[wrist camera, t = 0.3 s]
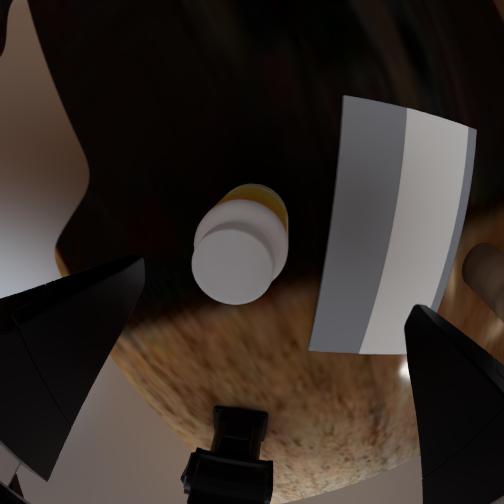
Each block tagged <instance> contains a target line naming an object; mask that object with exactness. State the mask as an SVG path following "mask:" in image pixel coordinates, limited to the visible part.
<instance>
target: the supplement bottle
mask: <svg viewBox="0 0 504 504" xmlns="http://www.w3.org/2000/svg"><path fill="white" fill-rule="evenodd" d="M194 250H195V251H194V253H193V257H192V271H193V274H194V277H195V280H196V282H197V283H198V285H199V286H200V288H201V289H202V290H203V291H204V292H205V293H206V294H207V295H209V296H210V297H211V298H213V299H215V300H217V301H219V302H222V303H226V304H233V305H239V304H245V303H249V302H251V301H254V300H256V299H257V298H259V297H260V296H261V295H262V294H263V293H264V292H265V291H266V290H267V289H268V287H269V285H270V283H271V282H272V281H273V280H274V279H275V278H276V277H277V276H278V275H279V273H280V272H281V270H282V269H283V267H284V264H285V262H286V258H287V253H288V214H287V209H286V207H285V204H284V202H283V201H282V199H281V198H280V197H279V195H278V194H277V193H276V192H274V191H273V190H271V189H270V188H268V187H266V186H263V185H259V184H245V185H241V186H239V187H237V188H235V189H233V190H231V191H230V192H229V193H228V194H227V195H226V196H225V197H224V198H223V199H222V200H221V201H219V202H218V203H217V204H216V205H215V206H214V207H213V208H212V209H211V210H210V211H209V212H208V213H207V214H206V215H205V217H204V218H203V219H202V221H201V222H200V224H199V226H198V228H197V231H196V234H195V240H194Z"/></svg>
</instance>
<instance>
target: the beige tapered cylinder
mask: <svg viewBox="0 0 504 504" xmlns="http://www.w3.org/2000/svg"><path fill="white" fill-rule="evenodd" d="M462 275H463V279H464V281H465V282H466V283H467V284H468V285H469V286H470V287H471V288H472V289H473V290H474V291H475V292H476V293H477V294H478V295H479V297H480V298H481V299H482V300H483V301H484V302H485V303H486V304H487V305H488V306H489V307H490V308H491V309H492V310H493V311H494V313H495V314H496V315H497V316H498V317H499V318H500V319H501V320H502V321H503V323H504V254H503V253H501V252H500V251H498V250H497V249H495V248H494V247H492V246H491V245H489V244H487V243H481V244H478V245H476V246H475V247H473V248H472V249H471V250H470V252H469V253H468V255H467V256H466V258H465V261H464V263H463V268H462Z"/></svg>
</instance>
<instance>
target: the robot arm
mask: <svg viewBox="0 0 504 504" xmlns="http://www.w3.org/2000/svg"><path fill="white" fill-rule="evenodd" d="M144 283H145V271H144V260H143V258H142V257H141V256H136V255H129V256H126V257H122V258H119V259H116V260H113V261H110V262H107V263H104V264H101V265H98V266H95V267H92V268H89V269H86V270H83V271H81V272H78V273H75V274H72V275H69V276H66V277H63V278H60V279H57V280H55V281H52V282H49V283H46V285H45V284H43V285H41V286H38V287H35V288H32V289H29V290H26V291H23V292H20V293H17V294H14V295H10V296H7V297H4V298H1V299H0V504H31V503H29V502H27V501H26V500H25V499H24V497H23V494H22V491H21V488H20V485H19V481H18V478H17V474H15V473H16V472H17V470H18V468H19V466H20V464H21V465H22V466H24V467H25V468H27V469H28V470H30V471H31V472H33V473H34V474H36V475H37V476H39V477H40V478H42V479H43V480H45V481H48V480H49V478H50V475H51V473H52V471H53V468H54V466H55V464H56V461H57V459H58V457H59V454H60V452H61V450H62V448H63V445H64V443H65V441H66V439H67V437H68V435H69V432H70V430H71V426H73V423H74V421H75V419H76V417H77V415H78V413H79V411H80V409H81V407H82V405H83V403H84V401H85V399H86V397H87V395H88V393H89V391H90V389H91V387H92V385H93V383H94V382H95V379H96V378H97V376H98V374H99V372H100V370H101V368H102V367H103V365H104V363H105V361H106V359H107V357H108V356H109V354H110V352H111V350H112V348H113V346H114V345H115V343H116V341H117V339H118V338H119V336H120V334H121V332H122V331H123V329H124V327H125V325H126V324H127V322H128V320H129V318H130V315H131V313H132V311H133V309H134V306H135V304H136V302H137V300H138V297H139V295H140V293H141V291H142V289H143V286H144ZM404 335H405V343H406V352H407V362H408V369H409V375H410V380H411V386H412V392H413V398H414V404H415V411H416V418H417V425H418V434H419V443H420V453H421V466H422V478H423V479H422V486H423V504H504V365H503V364H502V363H500V362H499V361H498V360H497V359H495V358H494V357H493V356H492V355H491V354H489V353H488V352H487V351H486V350H484V349H483V348H482V347H480V346H479V345H478V344H477V343H475V342H474V341H473V340H472V339H470V338H469V337H468V336H466V335H465V334H464V333H463V332H461V331H460V330H459V329H457V328H456V327H455V326H453V325H452V324H451V323H449V322H448V321H447V320H445V319H444V318H443V317H441V316H440V315H439V314H437V313H436V312H435V311H433V310H432V309H431V308H429V307H428V306H426V305H422V304H416V305H414V306H413V308H412V310H411V312H410V314H409V316H408V318H407V320H406V322H405V325H404ZM267 421H268V413H265V412H257V411H248V410H240V409H233V408H226V407H219V406H215V407H214V428H215V433H214V437H213V441H212V445H211V449H210V451H208V450H203V449H202V448H198V447H197V449H196V452H193V453H191V455H190V459H189V461H188V464H187V466H186V468H185V470H184V472H183V474H182V476H181V481H182V483H183V484H184V493H185V494H188V495H189V496H188V500H187V504H270V501H271V498H272V492H273V461H271V460H268V461H266V460H259V456H260V448H261V442H262V441H264V438H265V432H266V427H267Z"/></svg>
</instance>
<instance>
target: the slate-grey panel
mask: <svg viewBox="0 0 504 504" xmlns="http://www.w3.org/2000/svg"><path fill="white" fill-rule="evenodd" d="M475 144H476V130H475V129H472V128H470V127H467V126H464V125H462V124H459V123H456V122H453V121H450V120H447V119H444V118H440V117H437V116H434V115H431V114H427V113H424V112H420V111H416V110H413V109H409V108H404V107H400V106H396V105H391V104H387V103H382V102H378V101H373V100H368V99H362V98H357V97H351V96H345V95H344V96H342V112H341V126H340V139H339V150H338V161H337V171H336V180H335V189H334V197H333V205H332V213H331V220H330V228H329V235H328V241H327V248H326V254H325V261H324V267H323V273H322V278H321V284H320V290H319V295H318V301H317V306H316V311H315V316H314V321H313V326H312V331H311V336H310V340H309V345H308V351H320V352H340V353H359V354H407V352H406V343H405V335H404V325H405V322H406V320H407V318H408V316H409V314H410V312H411V310H412V308H413V306H414V305H416V304H422V305H426V306H428V307H429V308H431V309H432V310H433V311H435V312H436V313H437V311H438V308H439V305H440V302H441V300H442V297H443V294H444V291H445V288H446V285H447V282H448V279H449V276H450V272H451V269H452V266H453V262H454V259H455V255H456V251H457V248H458V244H459V240H460V236H461V232H462V227H463V223H464V218H465V213H466V208H467V203H468V197H469V192H470V185H471V179H472V172H473V164H474V155H475Z"/></svg>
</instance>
